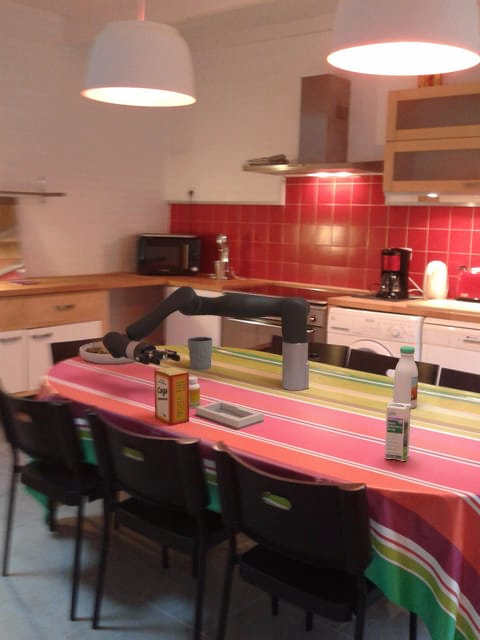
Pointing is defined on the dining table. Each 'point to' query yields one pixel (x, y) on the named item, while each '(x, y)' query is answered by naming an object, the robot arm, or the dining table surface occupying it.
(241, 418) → the gray rectangular tray
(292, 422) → the dining table surface
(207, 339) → the blue-grey cup
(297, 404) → the dining table surface
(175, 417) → the baking soda box
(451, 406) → the dining table surface
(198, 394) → the supplement bottle
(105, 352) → the bowl
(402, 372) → the milk bottle
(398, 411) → the syrup box
